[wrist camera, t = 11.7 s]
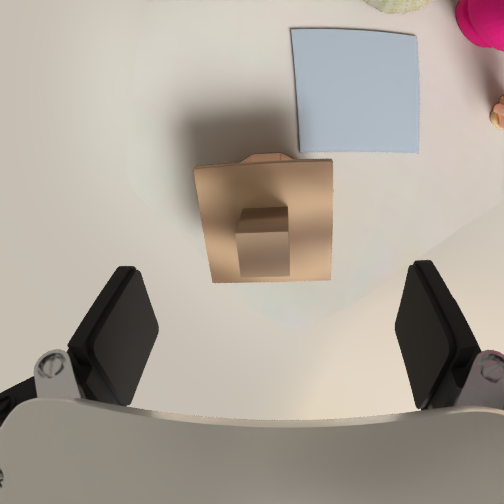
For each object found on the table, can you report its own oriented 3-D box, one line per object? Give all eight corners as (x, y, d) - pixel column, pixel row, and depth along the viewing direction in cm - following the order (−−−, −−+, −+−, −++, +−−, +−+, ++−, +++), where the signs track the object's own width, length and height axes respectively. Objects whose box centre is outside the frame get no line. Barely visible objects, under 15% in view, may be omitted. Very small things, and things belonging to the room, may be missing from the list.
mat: (291, 29, 26) (291, 29, 26) (415, 36, 24) (416, 36, 24) (300, 152, 32) (300, 152, 32) (417, 152, 31) (418, 153, 30)
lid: (196, 166, 28) (175, 187, 23) (331, 158, 27) (342, 178, 22) (214, 277, 34) (202, 314, 29) (329, 274, 33) (336, 312, 28)
